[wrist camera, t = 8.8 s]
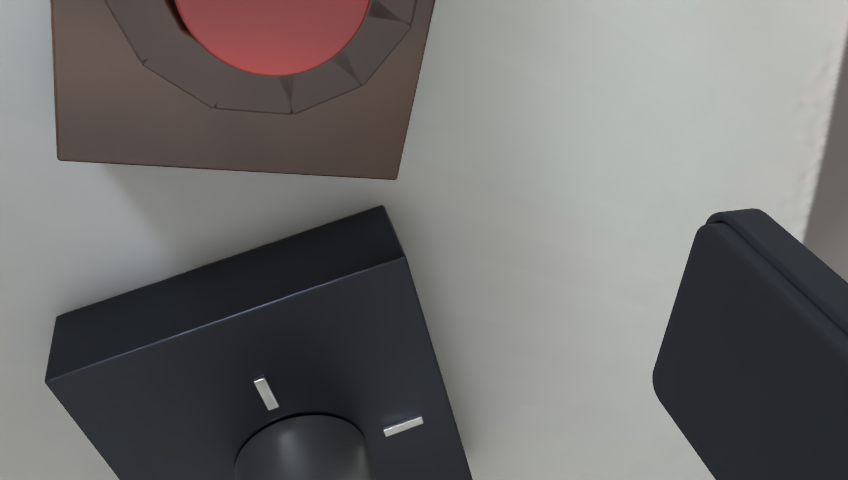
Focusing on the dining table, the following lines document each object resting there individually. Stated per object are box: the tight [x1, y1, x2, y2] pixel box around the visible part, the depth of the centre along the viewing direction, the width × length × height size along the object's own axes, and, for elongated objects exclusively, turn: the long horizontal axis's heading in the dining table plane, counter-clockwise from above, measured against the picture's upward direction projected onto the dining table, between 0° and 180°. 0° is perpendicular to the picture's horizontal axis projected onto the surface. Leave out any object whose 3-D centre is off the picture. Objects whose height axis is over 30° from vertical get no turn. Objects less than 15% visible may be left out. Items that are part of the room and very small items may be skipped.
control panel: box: [45, 206, 473, 480], centre depth 28 cm, size 14×11×3 cm
